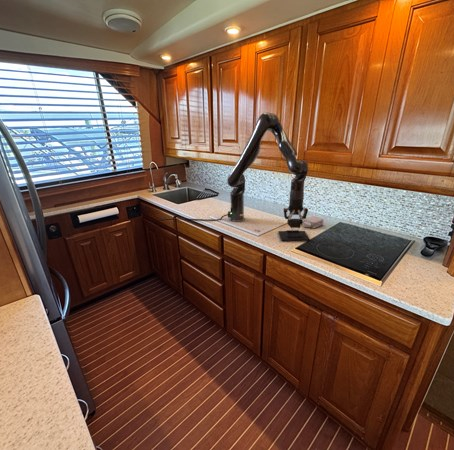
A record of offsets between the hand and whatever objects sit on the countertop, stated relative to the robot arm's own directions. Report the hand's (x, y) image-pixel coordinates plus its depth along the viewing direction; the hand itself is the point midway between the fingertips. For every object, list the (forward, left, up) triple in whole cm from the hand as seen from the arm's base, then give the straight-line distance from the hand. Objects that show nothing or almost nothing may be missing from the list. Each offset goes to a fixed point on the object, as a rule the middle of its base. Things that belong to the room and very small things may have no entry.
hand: (294, 225), depth 138 cm
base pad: (0, 0, -7) cm, 7 cm away
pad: (0, 0, 0) cm, 0 cm away
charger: (+14, +16, -8) cm, 23 cm away
